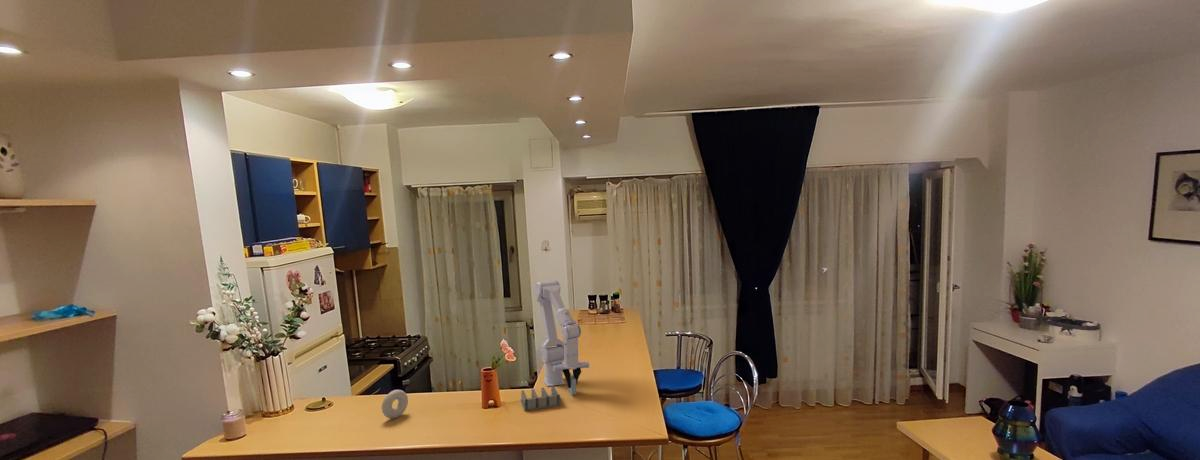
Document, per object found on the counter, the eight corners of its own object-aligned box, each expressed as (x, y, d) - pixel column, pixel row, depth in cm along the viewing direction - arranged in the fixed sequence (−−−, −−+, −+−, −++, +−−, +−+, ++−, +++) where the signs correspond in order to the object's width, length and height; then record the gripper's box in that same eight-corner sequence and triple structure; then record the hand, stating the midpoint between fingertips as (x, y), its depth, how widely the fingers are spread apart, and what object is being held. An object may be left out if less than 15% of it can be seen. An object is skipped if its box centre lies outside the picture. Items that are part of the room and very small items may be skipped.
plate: (567, 388, 191) (567, 374, 191) (571, 387, 192) (571, 373, 192) (571, 394, 185) (571, 379, 185) (576, 394, 185) (576, 379, 185)
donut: (404, 411, 174) (403, 385, 174) (410, 413, 172) (409, 386, 172) (380, 421, 166) (379, 394, 165) (386, 424, 164) (385, 396, 163)
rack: (520, 401, 182) (520, 390, 182) (554, 396, 186) (554, 386, 186) (524, 411, 172) (524, 400, 172) (560, 405, 177) (560, 395, 176)
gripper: (555, 358, 182) (556, 392, 182) (591, 354, 186) (591, 388, 187) (552, 353, 188) (552, 386, 189) (586, 349, 193) (586, 381, 193)
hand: (571, 386), depth 188 cm, fingers closed on plate, 2 cm apart
